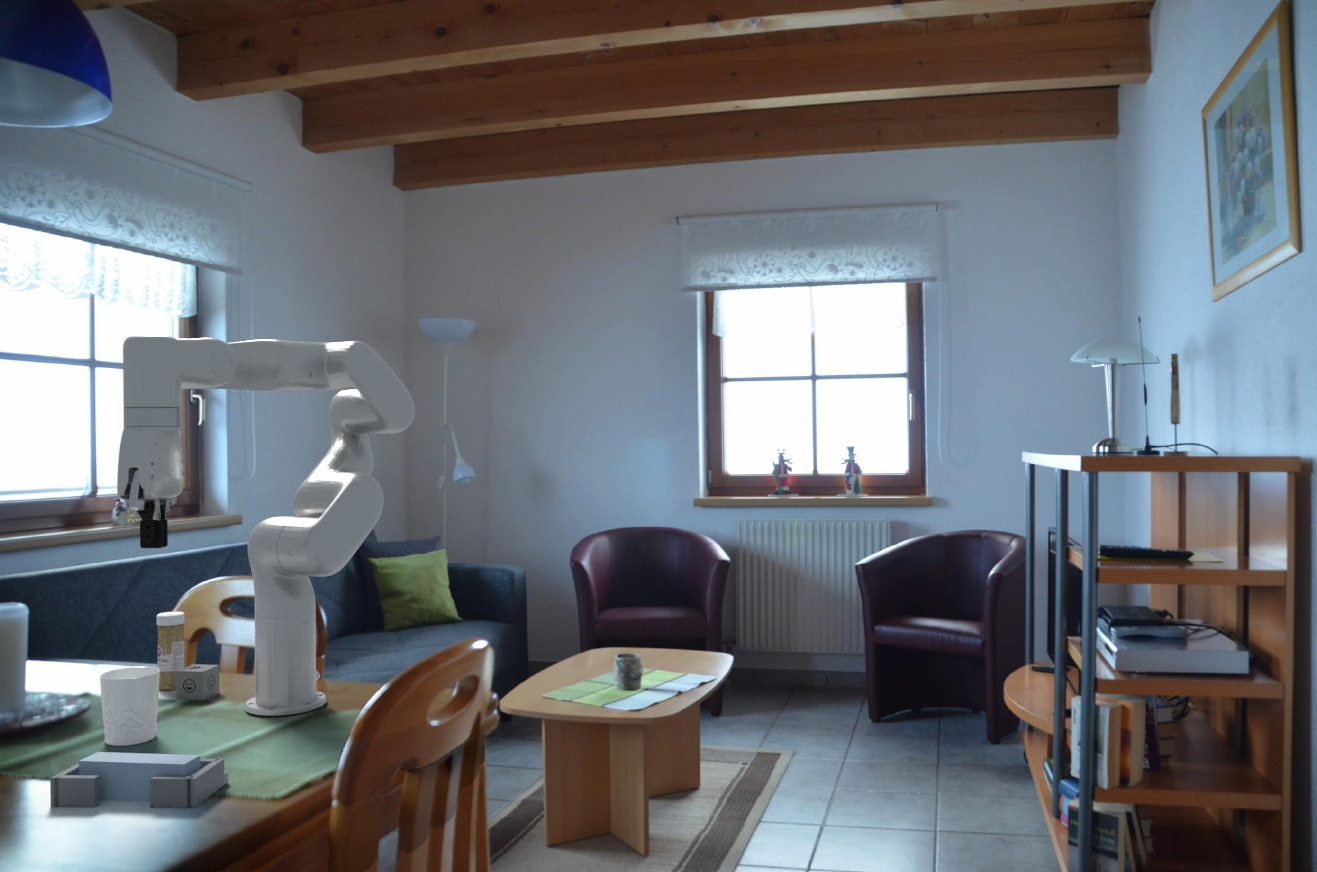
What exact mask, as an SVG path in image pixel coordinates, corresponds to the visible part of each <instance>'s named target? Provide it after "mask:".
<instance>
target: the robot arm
mask: <svg viewBox="0 0 1317 872" xmlns="http://www.w3.org/2000/svg"><path fill="white" fill-rule="evenodd" d="M122 365H123V366H122V369H123V370H122V375H123V376H122V380H123V381H122V382H123V384H122V385H123V391H122V392H123V394H122V395H123V401H122V402H123V430H122V432H121V433H122V434H121V437H120V443H119V451H118V460H117V461H118V462H117V478H116V479H117V481H116V482H117V485H116V487H117V488H116V490H117V496H118V498H120V499H121V500H124V501H126V500H128V508H129V509H131V510H135V511H136V514H137V515H136V516H137V520H138V521H139V537H140V539H139V544H140V546H139V547H140V548H141V549H162V548H166V547H167V546H168V544H169V542H168V531H169V530H168V529H169V528H168V524H169V523H168V520H169V518H170V514H171V513H170V512H171V511H170V510H171V507H172V506H174V505H175V504H176V503H177V501H178V498H177V497H178V496H179V495H181V494H182V493H183V490H184V457H183V446H182V438H181V432H180V431H183V430H182V429H183V428H182V427H183V425H182V421H183V420H182V405H183V404H182V390H237V391H248V392H332V391H339V392H337V393H336V394H335V395H334V396H333V397H332V399H331V401H330V402H329V406H328V422H329V427H330V437H331V439H330V440H331V441H330V445H329V448H328V451H326V453H325V455H324V456H323V457H322V458H321V460H320V461H319V462H318V463H317V465H316V466H315V467H314V468H313V469H312V471H311V472H310V473H309V474H308V475H307V477H306V478H305V479H304V480H303V482H302V483H301V484H300V485H299V487H298V488H297V490H296V491H295V493H294V495H293V496H292V497H293V498H292V501H291V506H292V512H293V514H294V516H293V515H292V516H291V515H290V516H286V515H285V516H284V515H282V516H281V515H279V516H278V515H277V516H272V517H268V518H266V519H264V520H262V521H260V522H259V523H257V525H255V527H254V528H253V529H252V530H251V532H250V535H249V536H248V541H247V557H248V562H249V567H250V571H251V576H252V582H253V583H252V584H253V592H254V593H253V594H254V681H255V683H254V692H255V693H254V694H255V696H252V697H251V698H249V699H248V700H246V701H245V703H244V705H245V707H244V708H245V712H247V713H249V714H250V715H255V716H261V717H262V716H264V717H266V716H267V717H269V716H270V717H275V716H276V717H278V716H279V717H280V716H288V715H299V714H302V713H308V712H310V711H314V710H316V709H320V708H321V707H323V706H324V705H325V704H327V703H326V702H327V695H326V694H325V693H324V692H321V691H318V690H317V681H318V680H319V679H320V678H321V674H320V672H319V671H318V670H317V657H316V656H317V652H316V651H317V649H316V648H317V647H316V646H317V645H316V642H317V641H316V640H317V639H316V638H317V636H316V632H317V631H316V618H317V616H316V615H317V614H316V610H317V609H316V607H317V606H316V605H317V604H316V595H315V589H314V586H313V584H312V581H311V579H310V577H322V578H323V577H329V576H330V577H331V576H333V575H335V574H336V573H338V572H340V571H341V570H342V569H343V568H344V567H345V566H346V565H347V564H348V563H349V561H350V560H351V559H352V557H353V556H354V555H355V553H356V552H357V551H358V550H359V548H360V547H361V546H362V544H363V543H364V541H366V539H367V537H368V536H369V534H370V533H371V532H372V531H373V529H374V527H375V526H376V524H377V523H378V521H379V519H380V518H381V516H382V512H383V508H384V500H385V498H384V491H383V488H382V486H381V484H380V483H379V481H378V480H377V479H376V478H374V477H373V476H371V474H372V473H373V469H374V464H375V458H374V454H373V451H372V447H371V446H372V445H371V442H370V438H369V434H370V435H371V434H373V435H374V434H376V435H377V434H380V435H381V434H384V435H385V434H389V435H390V434H397V433H401V432H404V431H405V430H407V429H409V427H411V425H412V423H414V420H415V416H416V405H415V402H414V399H413V396H412V394H411V392H410V390H408V388H407V387H406V386H405V384H404V383H403V382H402V380H401V379H400V378H399V377H398V375H397V374H396V372H394V370H393V369H392V367H390V365H389V364H388V362H387V361H386V360H385V359H384V358H383V357H382V356H381V355H380V354H379V353H378V351H376V349H374V348H373V347H372V346H370V345H369V344H368V343H365V342H363V341H359V340H351V341H347V340H346V341H336V342H335V341H333V342H330V341H329V342H326V341H323V342H322V341H320V342H319V341H297V340H286V339H252V340H245V341H235V342H232V341H231V342H225V341H223V340H222V339H218V338H214V337H199V338H196V337H195V338H175V337H172V336H169V335H163V334H162V335H161V334H135V335H130V336H128V337H126V338H125V339H124V342H123V344H122Z"/></svg>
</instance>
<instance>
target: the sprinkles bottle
mask: <svg viewBox="0 0 1317 872" xmlns="http://www.w3.org/2000/svg"><path fill="white" fill-rule="evenodd" d="M185 615H186V614H185V612H184V611H165V612H160V613H158V614H157V615H156V625H157V626H156V627H157V659H156V660H157V662H156V665H157V666H156V668H159V669H160V679H159V691H173V690H176V671H177V670H180V669H182V668H185V637H184V635H185V633H184V632H185V631H184V629H185V627H184V625H185V622H186V621H185V620H186V619H185V617H186V616H185Z"/></svg>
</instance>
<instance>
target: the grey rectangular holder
mask: <svg viewBox="0 0 1317 872" xmlns="http://www.w3.org/2000/svg"><path fill="white" fill-rule="evenodd" d="M200 764H201V770H199V771H198V772H196V773H195V774H193V775H192V776H154V777H152V778H151V802H150V808H173V809H175V808H185V809H186V808H190V809H191V808H197V807H198V806H200V805H201V804H202V803H203V802H205V801H206V800H207V799H209V798H210V797H211V796H212V795H211V794H212V793H213V792H214V791H216V790H218V789H219V788H220V787H222V786H223V785H224V784H226V783H227V782H228V783H229V771H225V758H200ZM49 784H50V789H49V790H50V807H55V808H56V807H59V808H60V807H64V808H65V807H66V808H71V807H72V808H73V807H75V808H78V807H79V808H95V807H96V806H98V805H100V800H99V775H79V762H78V763H76V764H73V765H72V766H70V767H68V768H66V769H65V770H63V771H61V772H59V773H57V774H56V775H52V777H50V783H49ZM226 785H227V784H226ZM222 788H223V787H222ZM218 791H219V790H218ZM210 795H211V796H210ZM209 796H210V797H209ZM208 797H209V798H208ZM204 800H205V801H204ZM201 802H202V803H201Z"/></svg>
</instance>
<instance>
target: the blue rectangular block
mask: <svg viewBox="0 0 1317 872" xmlns="http://www.w3.org/2000/svg"><path fill="white" fill-rule="evenodd" d="M200 759H201V755H200V754H173V753H171V754H170V753H146V752H145V753H140V752H138V753H137V752H111V751H110V752H108V751H97V752H95V753H93V754H90V755H89V756H87V757H84V758H83V759H82V758H81V759H80V760H78V763H79V775H99V801H110V802H111V801H116V802H117V801H118V802H121V801H122V802H140V803H144V802H145V803H151V778H152V777H154V776H192V775H193V774H195V773H196V772H198V771H199V770H201V764H200Z"/></svg>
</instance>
